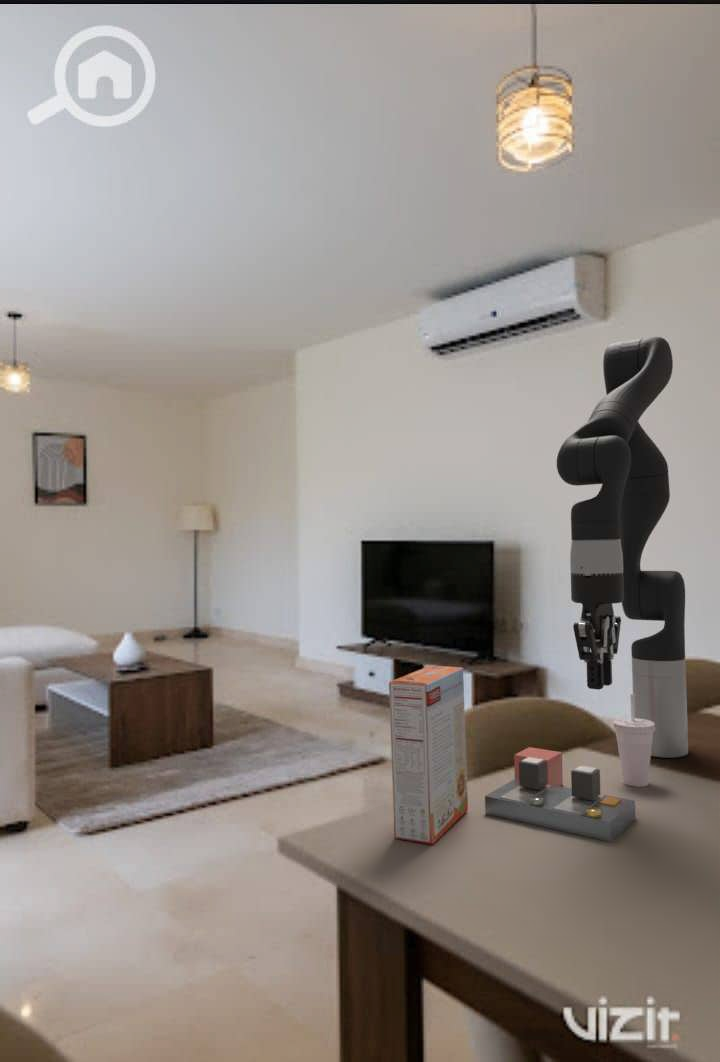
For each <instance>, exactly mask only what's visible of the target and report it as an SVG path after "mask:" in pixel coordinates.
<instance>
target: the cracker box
mask: <svg viewBox="0 0 720 1062" xmlns="http://www.w3.org/2000/svg"><path fill="white" fill-rule="evenodd" d="M464 685H465V684H464V668H463V667H462V666H461V667H459V666H445V665H429V666H426V667H424V668H421V669H418V670H415V671H413V672H409V673H408V674H406V675H404V676H401V677H398V678H396V679H393V680H390V681H389V683H388V689H389V714H390V715H389V717H390V718H389V719H390V721H389V722H390V747H391V752H390V753H391V775H392V776H391V778H392V779H391V780H392V803H393V804H392V807H393V809H392V810H393V837H394V839H396V840H397V839H398V840H403V841H410V842H415V843H421V844H426V845H433V844H435V843H436V842H437V841H438V840H439V839H440V838H441V837H442V836H443V835H444V834H445V833H446V832H447V831H448V830H449V829H450V828H451V827H453V825H454V824H455V823H456V822H457V821H458V820H460V819H461V817H463V816H464V815H465V814H466V813H467V812H468V809H469V805H468V802H469V801H468V800H469V799H468V796H469V795H468V776H467V775H468V773H467V772H468V770H467V746H466V718H465V717H466V714H465V713H466V712H465V688H464V687H465V686H464Z"/></svg>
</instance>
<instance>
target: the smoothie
mask: <svg viewBox="0 0 720 1062" xmlns="http://www.w3.org/2000/svg"><path fill="white" fill-rule="evenodd" d="M629 695H630V717H625V718H624V717H623V718H621V717H620V718H616V719H614V720H613V721H612V722H613V724H612V728H613V729H614V730H615V735H616V736H615V737H616V742H617V748H618V755H619V763H620V768H621V769H620V770H621V775H622V783H623V784H624V785H627V786H631V787H638V788H639V787H646V786H648V785H649V779H650V778H649V775H650V767H651V766H650V765H651V758H652V756H651V749H652V739H653V731H655V723H654V722H652V721H649V720H645V719H638V718H635V711H634V694H633V693H630V694H629Z"/></svg>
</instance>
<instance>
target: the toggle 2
mask: <svg viewBox="0 0 720 1062" xmlns="http://www.w3.org/2000/svg"><path fill="white" fill-rule="evenodd" d="M600 771H601V769H598V768H597V767H592V766H585V765H579V766H577V767H576V768H574V769H572V770H571V771H570V774H571V776H570V778H571V782H570V783H571V789H572V796H573V797H578V798H584V799H589V800H594V799H595V798H596V797H598V796H599V795H600V794H601V772H600Z"/></svg>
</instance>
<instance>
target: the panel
mask: <svg viewBox="0 0 720 1062" xmlns="http://www.w3.org/2000/svg"><path fill="white" fill-rule="evenodd" d="M484 812H485V815H490V816H495V817H499V818H503V819H507V820H512V821H516V822H521V823H525V824H529V825H535V826H539V827H543V828H546V829H552V830H556V831H561V832H566V833H571V834H575V835H577V836H578V835H579V836H582V837H588V838H592V839H596V840H600V841H606V842H609V843H611V842H612V841H613V840H614V839H616V838H617V837H618V836H619V835H620V834H621V833H622V832H623V831H624V830H626V829H627V827H628V826H630V825H631V824H632V823H633V822H634V821H635V820H636V816H637V815H636V800H634V799H627V798H622V797H617V796H611V795H607V794H601V793H600V795H599V796H598V797H596V798H595V799H594V800H589V799H584V798H578V797H573V796H572V788H571V787H570V788H569V787H565V786H564V787H563V786H560V787H559V786H554V785H549V784H547V785H545V786H544V787H542V788H541V789H539V790H537V789H532V788H527V787H522V786H519V779H517V778H516V779H515V778H514V779H513V780H510V781H509V782H507V783H506V784H504V785H502V786H501V787H498V788H497V789H495V790H493V791H491V792H490V793H488V794H486V795H484Z"/></svg>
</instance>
